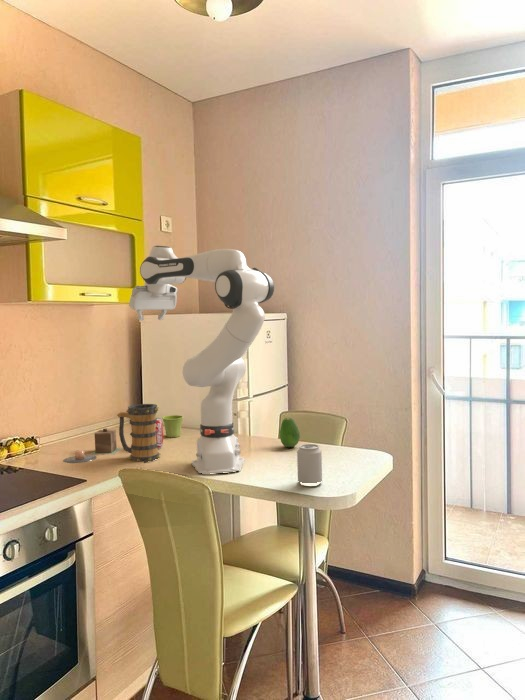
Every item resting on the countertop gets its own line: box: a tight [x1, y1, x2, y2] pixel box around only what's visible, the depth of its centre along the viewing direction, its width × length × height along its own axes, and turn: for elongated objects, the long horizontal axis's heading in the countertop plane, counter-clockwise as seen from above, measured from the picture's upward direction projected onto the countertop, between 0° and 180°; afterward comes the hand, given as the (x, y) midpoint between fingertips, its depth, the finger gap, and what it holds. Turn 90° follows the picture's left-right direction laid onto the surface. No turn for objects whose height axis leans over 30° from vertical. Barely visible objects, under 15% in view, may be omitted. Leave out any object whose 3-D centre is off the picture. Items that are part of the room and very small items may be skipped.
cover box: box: [94, 428, 118, 453], centre depth 221 cm, size 6×6×9 cm
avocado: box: [279, 417, 301, 448], centre depth 219 cm, size 8×8×12 cm
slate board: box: [63, 454, 97, 464], centre depth 210 cm, size 12×12×1 cm
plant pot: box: [162, 414, 184, 438], centre depth 248 cm, size 9×9×9 cm
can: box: [296, 443, 323, 483], centre depth 170 cm, size 8×8×12 cm
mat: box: [88, 447, 123, 456], centre depth 221 cm, size 10×10×1 cm
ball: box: [74, 449, 86, 460], centre depth 210 cm, size 3×3×3 cm
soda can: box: [155, 417, 164, 450], centre depth 225 cm, size 7×7×12 cm
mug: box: [116, 403, 161, 463], centre depth 209 cm, size 13×17×20 cm
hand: (150, 319), depth 222 cm, fingers open, 8 cm apart
